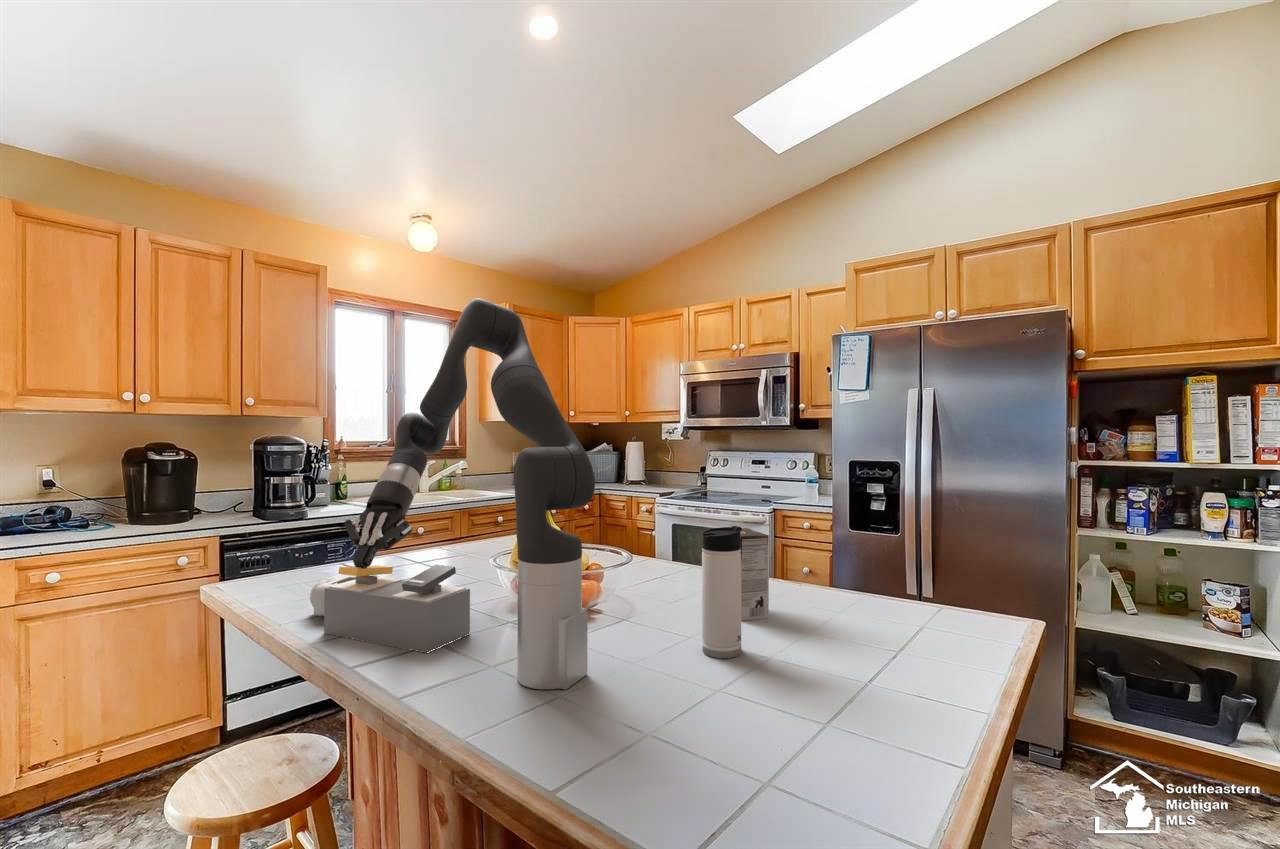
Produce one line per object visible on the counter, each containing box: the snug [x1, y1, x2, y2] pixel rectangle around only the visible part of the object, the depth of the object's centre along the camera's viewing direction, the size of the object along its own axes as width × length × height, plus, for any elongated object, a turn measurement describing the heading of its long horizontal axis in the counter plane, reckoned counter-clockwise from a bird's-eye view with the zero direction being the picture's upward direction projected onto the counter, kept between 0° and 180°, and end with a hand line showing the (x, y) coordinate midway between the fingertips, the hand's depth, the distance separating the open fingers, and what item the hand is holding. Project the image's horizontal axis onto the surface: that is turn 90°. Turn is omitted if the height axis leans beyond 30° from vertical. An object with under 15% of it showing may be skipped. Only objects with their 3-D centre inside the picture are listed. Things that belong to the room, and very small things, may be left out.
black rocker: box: [402, 564, 457, 593], centre depth 101 cm, size 4×8×1 cm, turn 156°
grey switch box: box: [323, 575, 471, 652], centre depth 104 cm, size 24×10×9 cm, turn 66°
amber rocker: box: [338, 564, 394, 576], centre depth 107 cm, size 4×8×1 cm, turn 156°
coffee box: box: [740, 527, 770, 622], centre depth 116 cm, size 9×6×16 cm
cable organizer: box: [309, 574, 388, 617], centre depth 118 cm, size 7×12×12 cm
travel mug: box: [701, 525, 742, 659], centre depth 96 cm, size 6×7×20 cm
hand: (359, 566), depth 104 cm, fingers closed
